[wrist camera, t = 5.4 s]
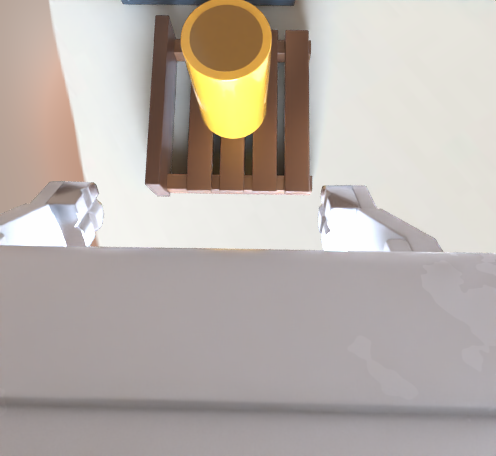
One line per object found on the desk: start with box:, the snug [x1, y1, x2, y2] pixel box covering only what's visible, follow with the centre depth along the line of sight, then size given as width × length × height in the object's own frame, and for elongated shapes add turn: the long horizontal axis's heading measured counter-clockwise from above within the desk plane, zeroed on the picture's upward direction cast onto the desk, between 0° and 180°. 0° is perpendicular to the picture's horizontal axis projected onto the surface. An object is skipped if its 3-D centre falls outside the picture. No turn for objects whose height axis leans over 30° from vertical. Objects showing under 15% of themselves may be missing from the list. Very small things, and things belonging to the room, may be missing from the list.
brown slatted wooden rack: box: [145, 15, 312, 196], centre depth 29 cm, size 12×13×4 cm
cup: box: [181, 0, 272, 139], centre depth 24 cm, size 5×5×8 cm
